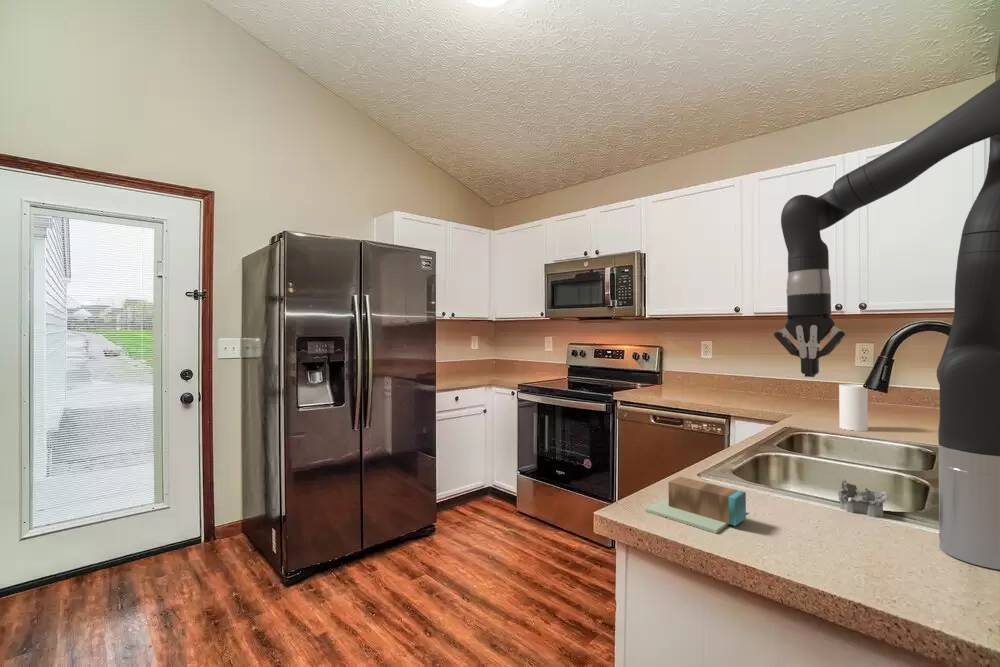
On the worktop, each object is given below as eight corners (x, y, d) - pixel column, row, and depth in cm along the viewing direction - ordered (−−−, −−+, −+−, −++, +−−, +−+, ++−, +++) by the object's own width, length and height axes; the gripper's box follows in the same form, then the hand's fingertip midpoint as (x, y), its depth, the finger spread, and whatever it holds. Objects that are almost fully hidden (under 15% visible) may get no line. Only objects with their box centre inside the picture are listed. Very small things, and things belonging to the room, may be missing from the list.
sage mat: (745, 512, 91) (745, 509, 91) (716, 533, 81) (716, 530, 81) (678, 494, 101) (678, 491, 101) (645, 511, 92) (645, 508, 92)
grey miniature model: (842, 496, 99) (842, 478, 99) (887, 505, 94) (887, 485, 94) (835, 510, 92) (835, 490, 92) (884, 521, 86) (883, 499, 86)
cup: (842, 425, 171) (841, 383, 171) (869, 428, 165) (869, 385, 165) (837, 428, 166) (836, 385, 166) (865, 432, 160) (865, 387, 160)
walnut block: (745, 492, 86) (680, 476, 96) (735, 498, 83) (668, 481, 93) (745, 518, 86) (680, 499, 96) (735, 525, 83) (668, 506, 93)
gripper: (852, 291, 91) (853, 377, 91) (778, 296, 101) (779, 373, 101) (843, 289, 86) (845, 380, 86) (767, 294, 96) (768, 376, 96)
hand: (809, 376), depth 94 cm, fingers closed
